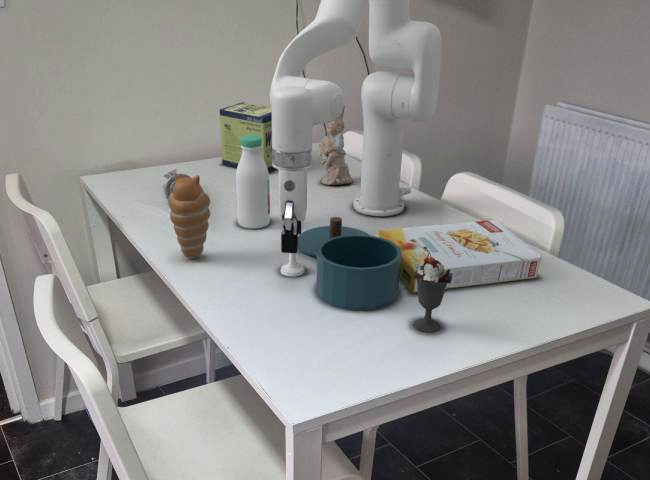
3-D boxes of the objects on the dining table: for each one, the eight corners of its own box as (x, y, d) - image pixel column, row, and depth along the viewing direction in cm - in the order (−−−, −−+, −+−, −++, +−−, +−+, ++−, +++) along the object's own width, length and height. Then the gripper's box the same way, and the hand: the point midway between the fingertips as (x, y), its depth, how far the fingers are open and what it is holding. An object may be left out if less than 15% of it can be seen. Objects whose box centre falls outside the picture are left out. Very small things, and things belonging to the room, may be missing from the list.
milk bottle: (265, 230, 166) (263, 143, 154) (233, 227, 167) (229, 141, 156) (273, 218, 172) (272, 133, 161) (242, 215, 173) (239, 131, 162)
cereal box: (377, 228, 152) (495, 215, 159) (375, 252, 155) (491, 239, 162) (415, 270, 136) (544, 254, 143) (412, 296, 140) (539, 279, 146)
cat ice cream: (218, 252, 156) (212, 170, 145) (206, 267, 149) (199, 182, 139) (179, 248, 157) (172, 166, 147) (166, 263, 151) (157, 178, 141)
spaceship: (170, 200, 159) (201, 183, 160) (149, 169, 189) (176, 155, 189) (186, 230, 164) (217, 214, 164) (164, 195, 193) (190, 181, 193)
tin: (357, 266, 150) (359, 228, 145) (415, 293, 140) (419, 253, 135) (299, 288, 142) (299, 248, 137) (356, 319, 132) (359, 277, 127)
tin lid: (336, 224, 169) (337, 199, 166) (389, 247, 158) (392, 220, 155) (280, 243, 160) (280, 217, 156) (333, 269, 149) (334, 241, 146)
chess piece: (308, 269, 149) (309, 224, 143) (296, 278, 145) (296, 232, 140) (289, 264, 151) (288, 219, 145) (276, 272, 147) (275, 226, 142)
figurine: (340, 175, 199) (343, 99, 188) (358, 183, 193) (361, 106, 182) (313, 180, 195) (314, 103, 184) (330, 189, 189) (332, 111, 178)
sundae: (404, 317, 132) (412, 241, 124) (440, 316, 133) (450, 240, 124) (412, 335, 127) (420, 257, 118) (449, 334, 127) (460, 256, 119)
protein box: (265, 174, 199) (263, 116, 190) (221, 164, 206) (217, 108, 197) (286, 165, 206) (285, 108, 197) (243, 155, 213) (240, 101, 204)
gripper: (308, 172, 127) (307, 261, 137) (314, 145, 142) (312, 227, 151) (267, 170, 128) (268, 259, 137) (276, 144, 142) (277, 226, 151)
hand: (291, 242), depth 144 cm, fingers open, 9 cm apart
